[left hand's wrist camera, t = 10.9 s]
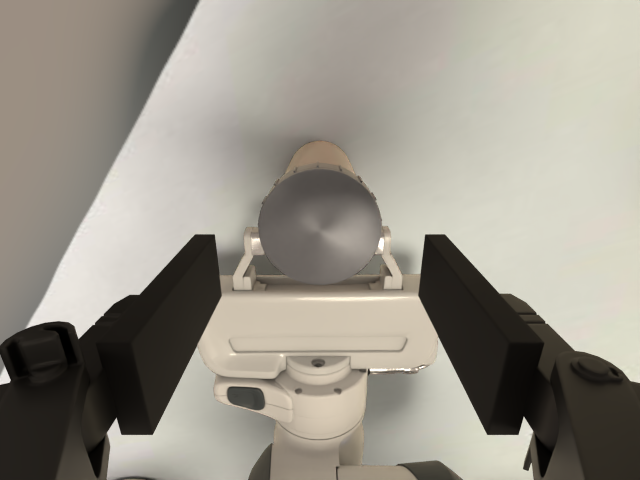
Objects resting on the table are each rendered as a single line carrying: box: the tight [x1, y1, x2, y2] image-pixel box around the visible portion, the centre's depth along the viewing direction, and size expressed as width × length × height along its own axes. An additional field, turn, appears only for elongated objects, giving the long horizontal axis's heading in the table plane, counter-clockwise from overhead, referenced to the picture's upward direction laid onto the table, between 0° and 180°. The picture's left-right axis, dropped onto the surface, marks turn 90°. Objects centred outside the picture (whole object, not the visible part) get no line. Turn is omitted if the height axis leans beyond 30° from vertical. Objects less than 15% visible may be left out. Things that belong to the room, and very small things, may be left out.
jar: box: [284, 141, 356, 175], centre depth 25 cm, size 6×6×15 cm
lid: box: [258, 161, 382, 285], centre depth 19 cm, size 6×6×2 cm
